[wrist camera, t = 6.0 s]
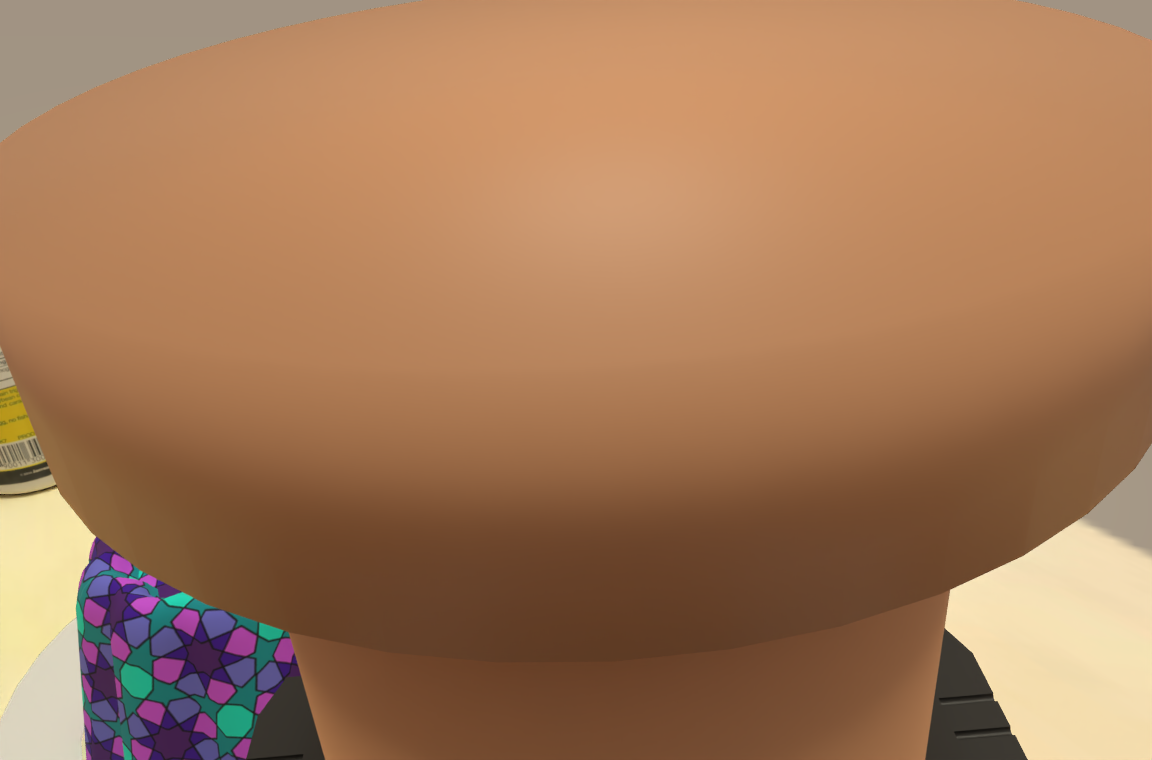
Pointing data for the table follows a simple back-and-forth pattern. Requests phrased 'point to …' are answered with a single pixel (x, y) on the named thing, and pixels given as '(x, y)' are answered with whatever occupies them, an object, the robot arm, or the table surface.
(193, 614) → the pudding
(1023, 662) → the table surface
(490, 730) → the orange capped cylinder
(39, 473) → the supplement bottle
